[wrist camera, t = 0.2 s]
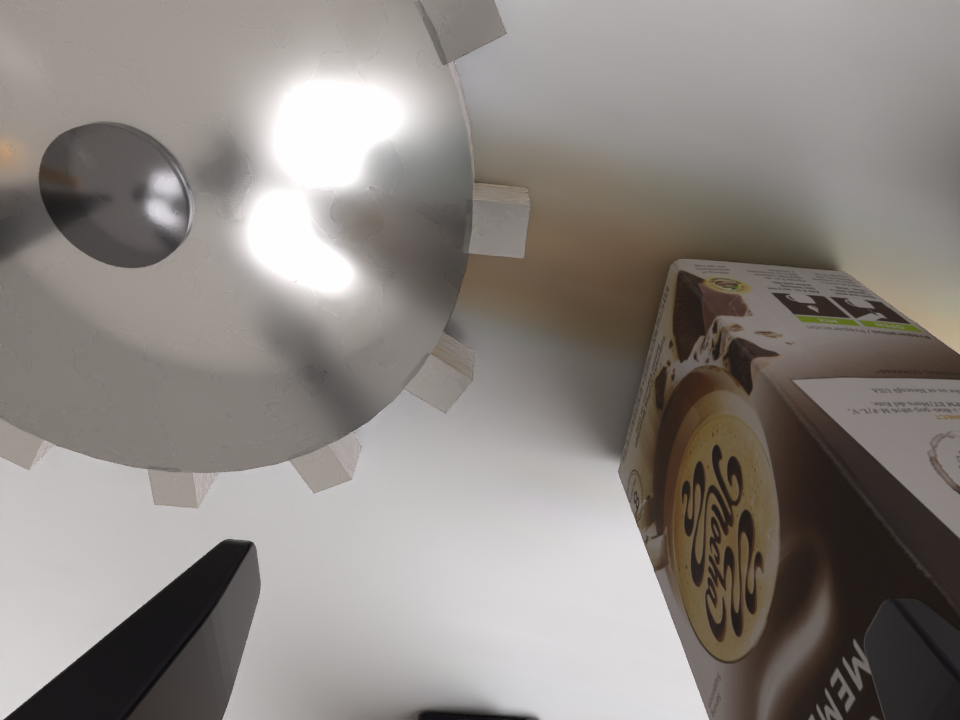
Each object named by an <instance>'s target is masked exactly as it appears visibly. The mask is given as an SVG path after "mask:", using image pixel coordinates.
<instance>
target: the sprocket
mask: <svg viewBox="0 0 960 720" xmlns="http://www.w3.org/2000/svg"><path fill="white" fill-rule="evenodd" d="M505 34H507V33H506V30H505V28H504V25H503V23H502V20H501V18H500V15H499V13H498V10H497V8H496V5H495V3H494V0H0V457H2V458H5V459H7V460H9V461H11V462H13V463H15V464H17V465H19V466H22V467H24V468H26V469H28V470H29V469H30V468H31V467H32V466H33V465H34V464H35V463H36V462H37V461H38V460H39V459H40V458H41V457H42V456H43V455H44V454H45V453H46V452H47V451H48V450H49V449H50V448H51V447H52V446H53V445H54V444H55V445H57V446H60V447H63V448H66V449H69V450H72V451H75V452H78V453H81V454H84V455H87V456H90V457H93V458H97V459H101V460H105V461H109V462H114V463H118V464H122V465H127V466H131V467H137V468H144V469H148V473H149V478H150V483H151V489H152V494H153V499H154V505H166V506H178V507H190V508H198V507H199V506H200V504H201V502H202V501H203V499H204V497H205V495H206V494H207V492H208V490H209V489H210V487H211V485H212V483H213V482H214V480H215V478H216V477H217V475H218V472H229V471H243V470H248V469H253V468H258V467H264V466H269V465H274V464H278V463H281V462H285V461H288V460H290V462H291V463H292V465H293V466H294V467H295V469H296V470H297V471H298V473H299V474H300V475H301V477H302V478H303V479H304V481H305V482H306V484H307V485H308V486H309V488H310V489H311V490H312V492H313V493H317V492H319V491H322V490H325V489H327V488H330V487H333V486H335V485H338V484H341V483H344V482H346V481H349V480H352V478H353V474H354V471H355V468H356V464H357V461H358V457H359V454H360V451H361V447H362V446H361V444H360V443H359V441H358V440H357V438H356V437H355V435H354V434H353V432H352V431H354V430H356V429H357V428H359V427H360V426H362V425H363V424H365V423H367V422H368V421H370V420H371V419H372V418H373V417H374V416H375V415H377V414H378V413H379V412H380V411H381V410H382V409H384V408H385V407H386V406H387V405H388V404H389V403H391V402H392V401H393V400H394V399H395V398H396V397H397V396H398V395H399V394H400V393H401V391H402V390H403V389H405V390H407V391H409V392H410V393H412V394H414V395H415V396H417V397H419V398H420V399H422V400H424V401H425V402H427V403H429V404H431V405H432V406H434V407H436V408H437V409H439V410H441V411H442V412H444V413H446V412H447V411H448V410H449V408H450V407H451V406H452V405H453V404H454V402H455V401H456V400H457V399H458V397H459V396H460V395H461V394H462V393H463V391H464V390H465V389H466V388H467V386H468V385H469V384H470V383H471V381H472V380H473V365H474V351H473V350H471V349H470V348H468V347H466V346H465V345H463V344H462V343H460V342H458V341H457V340H455V339H454V338H452V337H451V336H449V335H447V334H446V333H444V332H443V331H444V328H445V326H446V324H447V322H448V320H449V318H450V316H451V313H452V311H453V309H454V307H455V303H456V300H457V297H458V293H459V290H460V287H461V283H462V280H463V277H464V273H465V270H466V264H467V258H468V253H469V254H480V255H491V256H502V257H513V258H523V259H524V253H525V245H526V237H527V229H528V221H529V213H530V206H531V205H530V199H529V194H528V188H525V187H514V186H504V185H493V184H483V183H475V162H474V153H473V144H472V134H471V125H470V119H469V115H468V111H467V106H466V102H465V98H464V94H463V89H462V85H461V81H460V77H459V74H458V71H457V68H456V65H455V63H454V60H456V59H458V58H460V57H462V56H464V55H466V54H468V53H469V52H471V51H473V50H475V49H477V48H479V47H481V46H483V45H485V44H487V43H489V42H491V41H493V40H495V39H497V38H499V37H501V36H503V35H505Z"/></svg>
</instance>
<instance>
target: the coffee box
mask: <svg viewBox="0 0 960 720" xmlns="http://www.w3.org/2000/svg"><path fill="white" fill-rule="evenodd" d="M618 473H619V476H620V479H621V482H622V485H623V487H624V490H625V493H626V495H627V498H628V501H629V503H630V506H631V510H632V512H633V515H634V517H635V520H636V523H637V526H638V528H639V530H640V533H641V536H642V539H643V542H644V544H645V547H646V550H647V553H648V555H649V558H650V561H651V563H652V565H653V568H654V572H655V574H656V577H657V579H658V582H659V584H660V587H661V590H662V593H663V595H664V598H665V601H666V603H667V606H668V609H669V611H670V614H671V617H672V620H673V622H674V625H675V628H676V630H677V633H678V635H679V638H680V640H681V643H682V646H683V649H684V651H685V654H686V657H687V660H688V663H689V665H690V668H691V671H692V673H693V676H694V679H695V682H696V684H697V687H698V690H699V692H700V695H701V698H702V701H703V703H704V706H705V709H706V711H707V714H708V717H709V720H885V719H884V716H883V712H882V709H881V705H880V702H879V699H878V695H877V692H876V688H875V685H874V682H873V678H872V675H871V671H870V668H869V665H868V661H867V658H866V654H865V650H864V637H865V633H866V631H867V629H868V627H869V626H870V624H871V622H872V620H873V618H874V616H875V615H876V613H877V611H878V609H879V607H880V606H881V604H882V602H883V601H884V600H885V599H887V598H889V597H897V598H909V599H916V600H919V601H921V602H923V603H924V604H926V605H927V606H928V607H929V608H931V609H932V610H933V611H935V612H936V613H937V614H938V615H940V616H941V617H942V618H943V619H945V620H946V621H947V622H949V623H950V624H951V625H952V626H954V627H955V628H956V629H957V630H959V631H960V355H959V354H958V353H957V352H955V351H954V350H952V349H951V348H950V347H948V346H947V345H945V344H944V343H943V342H941V341H940V340H938V339H937V338H936V337H934V336H933V335H932V334H930V333H929V332H928V331H927V330H925V329H924V328H923V327H921V326H920V325H919V324H917V323H916V322H914V321H912V320H911V319H909V318H908V317H906V316H905V315H904V314H902V313H901V312H899V311H898V310H897V309H895V308H894V307H893V306H892V305H890V304H889V303H887V302H886V301H885V300H883V299H882V298H881V297H879V296H878V295H876V294H875V293H873V292H872V291H871V290H869V289H868V288H866V287H865V286H864V285H862V284H861V283H860V282H859V281H857V280H856V279H855V278H853V277H852V276H850V275H848V274H847V273H845V272H841V271H831V270H820V269H808V268H796V267H786V266H774V265H761V264H750V263H738V262H727V261H713V260H699V259H678V260H675V261H674V262H673V263H672V264H671V266H670V269H669V273H668V276H667V280H666V284H665V288H664V292H663V296H662V300H661V304H660V308H659V312H658V316H657V320H656V324H655V328H654V332H653V336H652V340H651V344H650V348H649V352H648V356H647V360H646V363H645V367H644V371H643V375H642V379H641V383H640V387H639V391H638V395H637V399H636V403H635V407H634V411H633V414H632V418H631V422H630V426H629V430H628V434H627V438H626V442H625V446H624V450H623V454H622V458H621V462H620V466H619V470H618Z"/></svg>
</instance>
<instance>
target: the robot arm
mask: <svg viewBox="0 0 960 720" xmlns="http://www.w3.org/2000/svg"><path fill="white" fill-rule="evenodd" d="M260 585H261V582H260V573H259V566H258V558H257V550H256V546H255V544H254V543H253V542H251V541H245V540H233V539H227V540H224V541H222V542H220V543H219V544H218V545H217V546H215V547H214V548H213V549H212V550H210V551H209V552H208V553H207V554H206V555H204V556H203V557H202V558H201V559H199V560H198V561H197V562H196V563H195V564H193V565H192V566H191V567H190V568H188V569H187V570H186V571H185V572H184V573H182V574H181V575H180V576H179V577H177V578H176V579H175V580H174V581H173V582H171V583H170V584H169V585H168V586H166V587H165V588H164V589H163V590H162V591H160V592H159V593H158V594H157V595H155V596H154V597H153V598H152V599H150V600H149V601H148V602H147V603H146V604H144V605H143V606H142V607H141V608H139V609H138V610H137V611H136V612H135V613H133V614H132V615H131V616H130V617H128V618H127V619H126V620H125V621H124V622H122V623H121V624H120V625H119V626H117V627H116V628H115V629H114V630H113V631H111V632H110V633H109V634H108V635H106V636H105V637H104V638H103V639H102V640H100V641H99V642H98V643H97V644H95V645H94V646H93V647H92V648H91V649H89V650H88V651H87V652H86V653H84V654H83V655H82V656H81V657H80V658H78V659H77V660H76V661H75V662H73V663H72V664H71V665H70V666H69V667H67V668H66V669H65V670H64V671H62V672H61V673H60V674H59V675H58V676H56V677H55V678H54V679H53V680H51V681H50V682H49V683H48V684H46V685H45V686H44V687H43V688H42V689H40V690H39V691H38V692H37V693H35V694H34V695H33V696H32V697H31V698H29V699H28V700H27V701H26V702H24V703H23V704H22V705H21V706H20V707H18V708H17V709H16V710H15V711H13V712H12V713H11V714H10V715H9V716H7V717H6V718H5V719H4V720H222V718H223V716H224V713H225V710H226V708H227V705H228V702H229V699H230V696H231V692H232V689H233V686H234V682H235V679H236V675H237V672H238V668H239V665H240V661H241V658H242V654H243V651H244V647H245V644H246V640H247V637H248V633H249V630H250V627H251V623H252V620H253V616H254V613H255V609H256V606H257V602H258V598H259V594H260ZM864 650H865V654H866V658H867V661H868V665H869V668H870V671H871V675H872V678H873V682H874V685H875V688H876V692H877V695H878V699H879V702H880V705H881V709H882V712H883V716H884V719H885V720H960V631H959V630H957V629H956V628H955V627H954V626H952V625H951V624H950V623H949V622H947V621H946V620H945V619H943V618H942V617H941V616H940V615H938V614H937V613H936V612H935V611H933V610H932V609H931V608H929V607H928V606H927V605H926V604H924V603H923V602H921V601H919V600H916V599H909V598H897V597H889V598H887V599H885V600H884V601H883V602H882V604H881V606H880V607H879V609H878V611H877V613H876V615H875V616H874V618H873V620H872V622H871V624H870V626H869V627H868V629H867V631H866V633H865V637H864ZM418 720H518V719H504V718H491V717H478V716H464V715H451V714H437V713H423V714H421V715H419V717H418Z"/></svg>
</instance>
